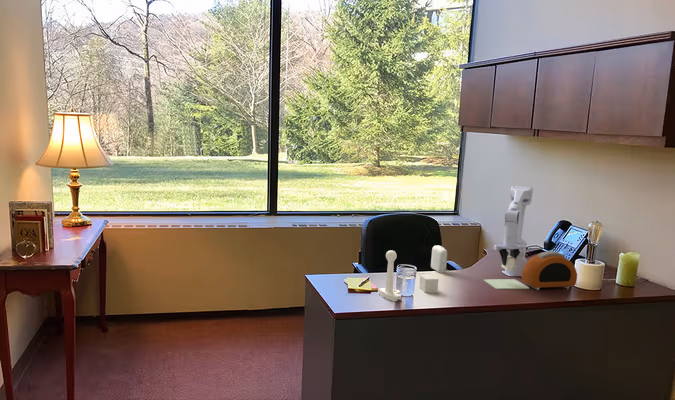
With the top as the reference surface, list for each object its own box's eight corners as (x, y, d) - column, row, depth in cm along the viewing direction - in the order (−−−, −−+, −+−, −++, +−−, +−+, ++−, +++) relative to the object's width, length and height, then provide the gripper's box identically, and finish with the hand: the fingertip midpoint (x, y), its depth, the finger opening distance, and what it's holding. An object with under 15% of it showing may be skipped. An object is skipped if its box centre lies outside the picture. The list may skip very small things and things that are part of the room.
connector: (506, 265, 244) (507, 254, 244) (517, 272, 234) (519, 260, 233) (500, 266, 244) (501, 254, 243) (511, 272, 234) (512, 260, 233)
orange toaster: (531, 290, 234) (535, 254, 231) (520, 284, 242) (523, 249, 240) (576, 289, 239) (580, 254, 237) (563, 283, 248) (567, 249, 245)
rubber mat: (514, 280, 249) (514, 279, 249) (529, 288, 236) (529, 287, 236) (483, 280, 246) (483, 279, 246) (496, 289, 234) (496, 288, 233)
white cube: (424, 292, 225) (425, 279, 224) (419, 288, 230) (420, 275, 230) (437, 292, 226) (438, 278, 225) (431, 287, 232) (432, 274, 231)
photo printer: (447, 273, 256) (448, 248, 254) (439, 273, 255) (441, 248, 253) (437, 267, 266) (438, 243, 264) (429, 267, 265) (431, 243, 263)
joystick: (376, 294, 220) (379, 247, 217) (390, 291, 224) (393, 246, 221) (392, 302, 210) (395, 254, 207) (407, 299, 214) (410, 252, 211)
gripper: (500, 238, 233) (497, 267, 235) (529, 238, 235) (526, 267, 237) (492, 234, 240) (490, 263, 242) (521, 234, 242) (518, 263, 244)
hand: (507, 265), depth 240 cm, fingers closed on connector, 3 cm apart
